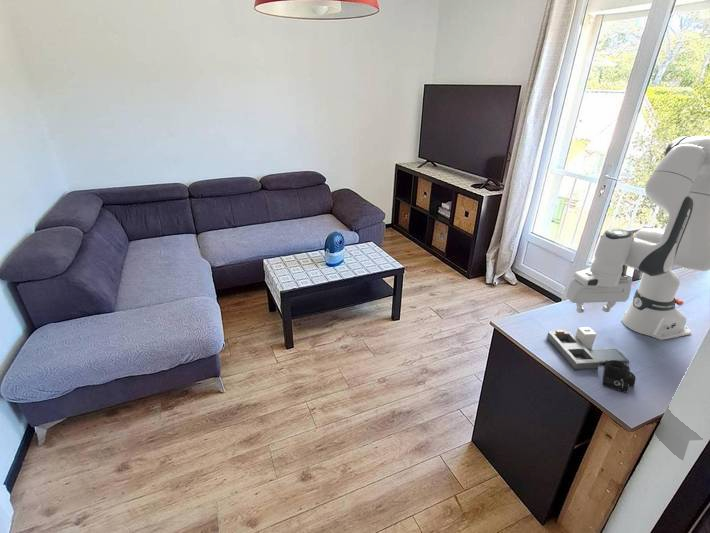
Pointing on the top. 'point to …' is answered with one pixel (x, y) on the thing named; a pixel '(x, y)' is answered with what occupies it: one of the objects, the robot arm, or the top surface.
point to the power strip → (572, 350)
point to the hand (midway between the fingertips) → (592, 311)
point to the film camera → (618, 376)
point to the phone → (608, 355)
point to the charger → (586, 336)
